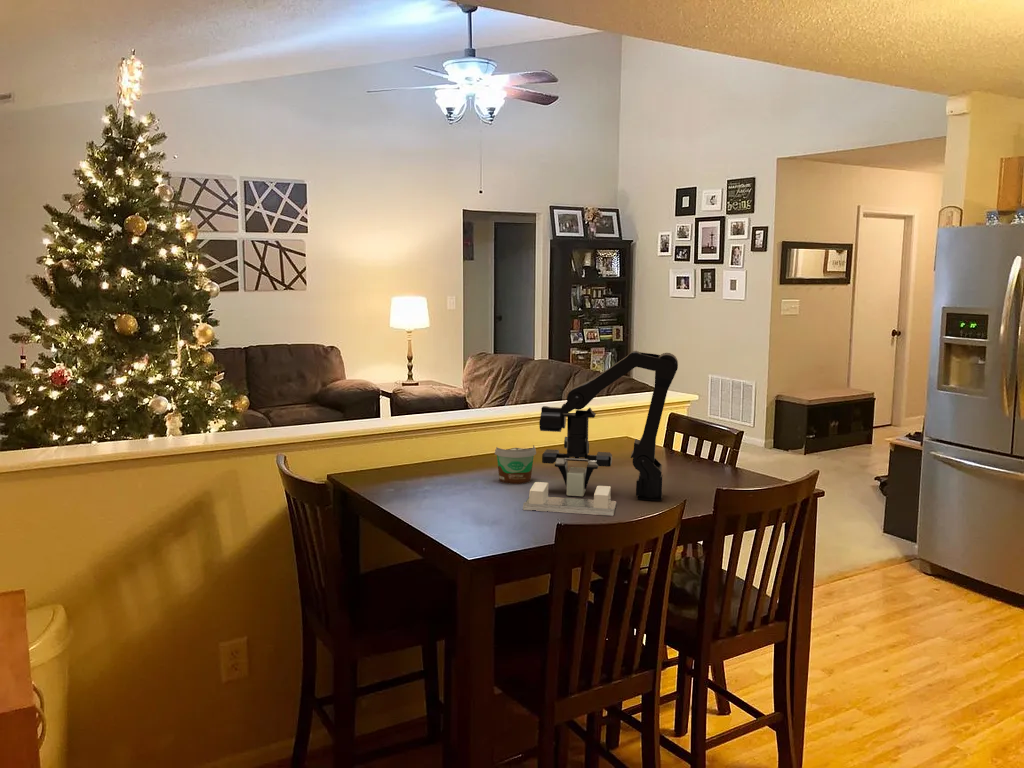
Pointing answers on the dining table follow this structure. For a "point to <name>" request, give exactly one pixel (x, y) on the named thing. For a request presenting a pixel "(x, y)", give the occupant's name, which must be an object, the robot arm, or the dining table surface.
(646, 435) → the robot arm
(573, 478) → the block
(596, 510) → the rail plate
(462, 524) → the dining table surface
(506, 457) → the food container
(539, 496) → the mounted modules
